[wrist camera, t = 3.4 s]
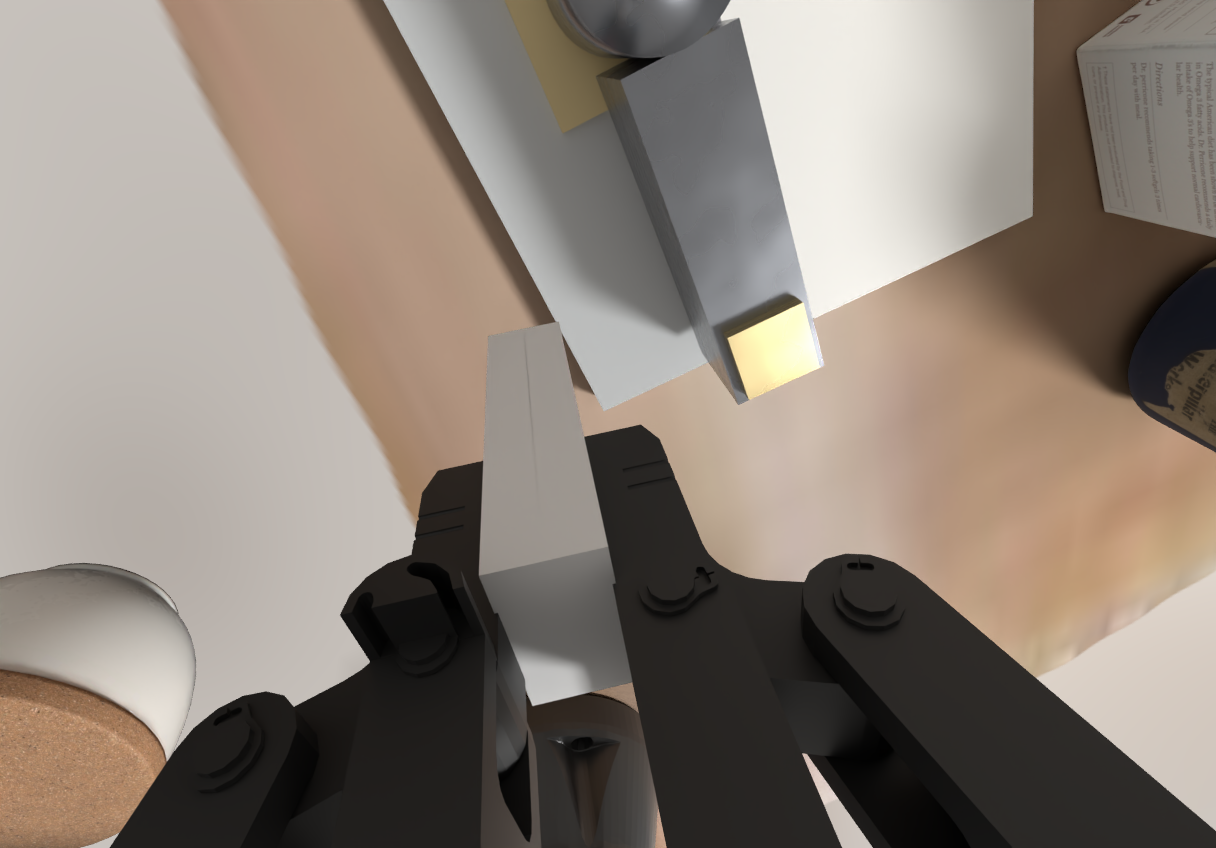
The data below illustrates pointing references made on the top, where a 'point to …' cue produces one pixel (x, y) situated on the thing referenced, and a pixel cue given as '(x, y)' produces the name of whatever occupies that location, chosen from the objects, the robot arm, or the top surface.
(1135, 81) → the supplement box
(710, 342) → the arm
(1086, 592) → the top surface
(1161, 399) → the canister
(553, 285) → the door board
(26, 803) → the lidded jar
